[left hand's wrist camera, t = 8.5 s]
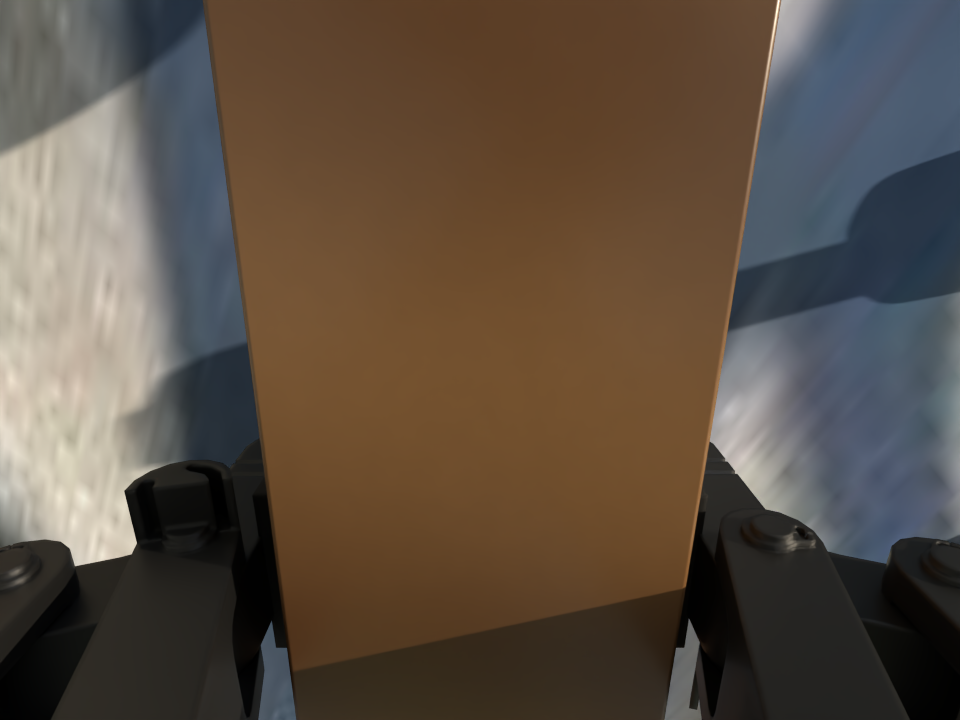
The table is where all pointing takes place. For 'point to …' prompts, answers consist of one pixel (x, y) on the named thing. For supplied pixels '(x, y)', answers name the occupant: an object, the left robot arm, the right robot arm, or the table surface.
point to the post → (486, 333)
